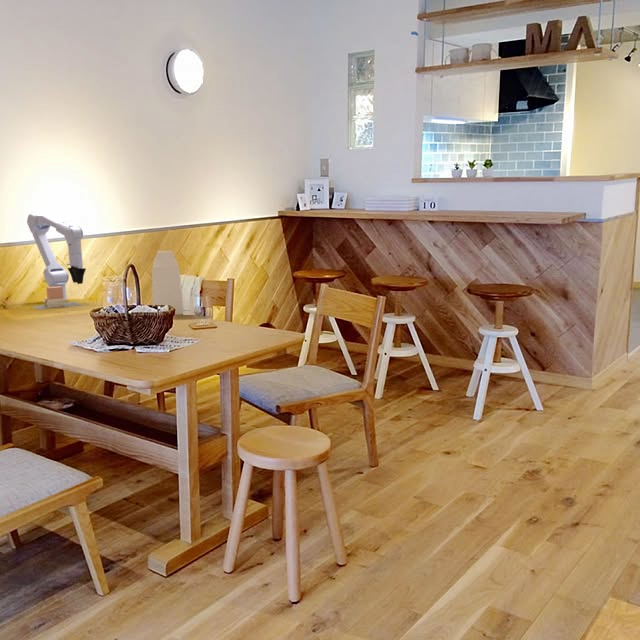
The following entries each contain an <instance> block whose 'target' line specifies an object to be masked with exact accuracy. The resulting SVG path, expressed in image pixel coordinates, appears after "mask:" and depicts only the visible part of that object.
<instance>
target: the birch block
mask: <svg viewBox="0 0 640 640" xmlns="http://www.w3.org/2000/svg"><path fill="white" fill-rule="evenodd" d="M43 300H44V305H45V306H46V307H48V308H49V309H52V308H51V307H59V308H62V307H61V306H65V303H66V302H65V301H64V298H59V299H48V298H47V297H44V299H43Z"/></svg>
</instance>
